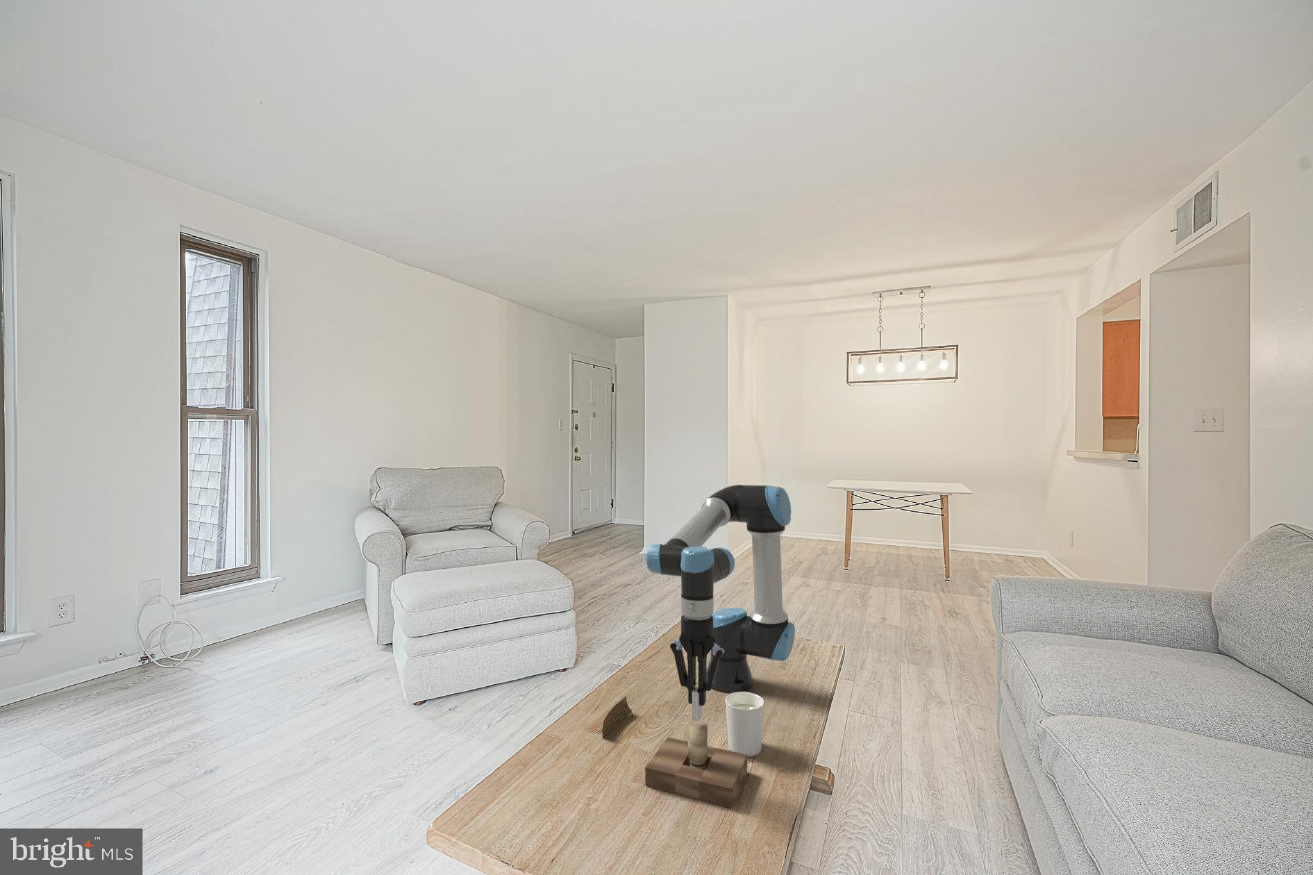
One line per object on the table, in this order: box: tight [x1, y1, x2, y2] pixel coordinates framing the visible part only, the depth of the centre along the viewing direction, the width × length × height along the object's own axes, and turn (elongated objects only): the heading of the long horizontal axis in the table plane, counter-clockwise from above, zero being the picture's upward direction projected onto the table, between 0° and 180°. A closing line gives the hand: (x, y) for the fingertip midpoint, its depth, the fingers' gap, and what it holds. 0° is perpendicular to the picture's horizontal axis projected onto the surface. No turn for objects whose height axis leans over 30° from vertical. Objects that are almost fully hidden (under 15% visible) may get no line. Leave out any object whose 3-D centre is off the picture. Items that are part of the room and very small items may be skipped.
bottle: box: [687, 720, 708, 770], centre depth 126 cm, size 4×4×12 cm
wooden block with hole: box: [644, 736, 748, 808], centre depth 126 cm, size 14×20×4 cm
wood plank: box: [601, 695, 633, 738], centre depth 151 cm, size 15×2×5 cm, turn 158°
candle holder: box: [724, 691, 765, 758], centre depth 139 cm, size 10×10×12 cm
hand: (697, 718), depth 126 cm, fingers closed
